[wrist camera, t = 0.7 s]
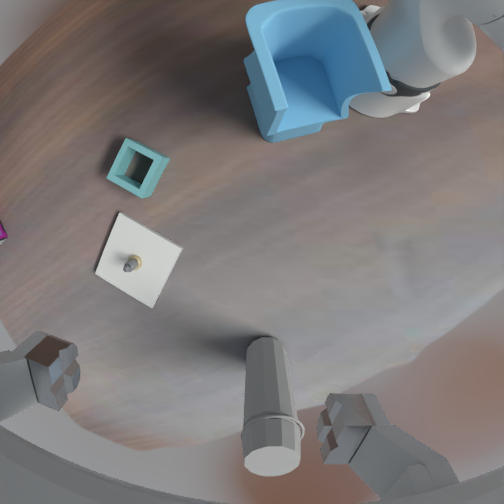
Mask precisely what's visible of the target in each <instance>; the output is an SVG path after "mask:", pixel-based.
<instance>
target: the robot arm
mask: <svg viewBox="0 0 504 504" xmlns="http://www.w3.org/2000/svg"><path fill="white" fill-rule="evenodd" d="M360 12H361V14H362V16H363V18H364V20H365V22H366V24H367V27H368V29H369V31H370V33H371V36H372V38H373V41H374V43H375V45H376V48H377V50H378V53H379V55H380V58H381V61H382V63H383V66H384V69H385V71H386V74H387V77H388V80H389V83H390V85H391V88H392V90H390V91H382V92H368V93H363V94H359V95H357V96H355V97H353V99H352V100H351V101H350V104H349V106H350V107H352V108H353V109H355V110H356V111H358V112H360V113H362V114H364V115H367V116H371V117H380V118H381V117H388V116H392V115H394V114H397V113H401V112H402V113H415V112H416V111H418V109H419V106H420V102H422V101H424V100H426V99H427V98H428V97H429V96H430V94H429V92H430V91H432V90H433V89H434V88H436V87H437V86H438V85H439V84H440V83H441V82H442V81H444V80H447V79H449V78H452V77H454V76H456V75H459V74H461V73H463V72H465V71H466V70H467V69H468V68H469V67H470V65H471V64H472V62H473V61H474V58H475V55H476V39H475V34H474V30H473V26H472V24H471V22H472V23H474V24H476V25H477V26H478V27H479V28H480V29H481V30H482V31H483V32H484V33H485V34H486V35H487V36H488V37H489V38H490V39H491V40H492V41H493V42H494V43H495V44H496V45H497V46H498V47H499V48H500V49H501V50H502V51H503V52H504V0H389V1H388V2H387V4H386V6H382V7H378V6H373V5H369V6H367V7H366V8H365V9H364V10H361V11H360ZM77 356H78V351H77V346H76V345H75V344H73V343H71V342H68V341H65V340H63V339H60V338H57V337H55V336H52V335H49V334H47V333H44V332H42V331H36V332H35V333H34V334H32V335H31V336H30V337H29V338H28V339H26V340H25V341H24V342H23V343H22V344H20V345H19V346H18V347H17V348H16V349H15V350H13V351H12V352H11V351H9V350H8V351H3V352H0V421H2V420H5V419H7V418H9V417H11V416H14V415H16V414H18V413H20V412H22V411H24V410H27V409H29V408H31V407H33V406H35V405H37V404H38V403H40V404H42V405H45V406H47V407H49V408H52V409H54V410H57V411H59V410H60V409H61V408H62V407H63V405H64V404H65V403H66V401H67V400H68V398H67V394H68V393H71V392H73V391H74V390H75V389H76V387H77V386H78V383H79V380H80V366H79V365H78V363H77V362H76V360H75V359H76V357H77ZM325 404H326V407H327V408H326V409H325V410H324V411H322V412H321V413H320V416H319V418H318V422H317V437H318V439H319V440H320V441H321V442H322V443H323V444H322V446H321V448H320V451H321V455H322V459H323V463H324V464H349V466H350V467H351V468H352V470H354V472H355V473H356V474H357V475H358V476H359V477H360V478H361V479H362V480H363V481H364V482H365V483H366V484H367V485H368V486H369V487H370V488H371V489H372V490H373V491H374V492H375V493H376V494H377V495H378V496H379V497H380V498H381V500H380V501H376V502H370V503H361V504H504V466H502V467H500V468H497V469H495V470H493V471H490V472H487V473H485V474H482V475H480V476H477V477H474V478H471V479H468V480H465V481H462V482H459V480H458V479H457V476H456V475H455V473H454V471H453V469H452V467H451V466H450V464H449V462H448V460H447V459H446V458H445V457H444V456H442V455H441V454H439V453H437V452H435V451H434V450H432V449H431V448H429V447H428V446H426V445H425V444H423V443H421V442H420V441H418V440H417V439H415V438H414V437H412V436H411V435H409V434H407V433H406V432H404V431H403V430H401V429H400V428H398V427H397V426H395V425H390V423H389V421H388V419H387V417H386V415H385V413H384V411H383V409H382V407H381V405H380V403H379V401H378V399H377V397H376V395H374V394H339V393H330V394H329V395H328V397H327V399H326V401H325ZM0 504H228V503H220V502H213V501H205V500H200V499H194V498H189V497H184V496H178V495H174V494H169V493H165V492H161V491H157V490H153V489H149V488H145V487H142V486H138V485H134V484H131V483H128V482H124V481H121V480H118V479H115V478H112V477H109V476H106V475H104V474H101V473H98V472H95V471H93V470H90V469H87V468H85V467H82V466H80V465H77V464H75V463H73V462H70V461H68V460H66V459H63V458H61V457H59V456H57V455H55V454H53V453H50V452H48V451H46V450H44V449H42V448H40V447H38V446H36V445H34V444H32V443H31V442H28V441H27V440H25V439H23V438H21V437H19V436H18V435H16V434H14V433H13V432H11V431H9V430H7V429H6V428H4V427H3V426H1V425H0Z"/></svg>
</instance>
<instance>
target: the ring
mask: <svg viewBox="0 0 504 504" xmlns="http://www.w3.org/2000/svg"><path fill="white" fill-rule="evenodd" d="M136 151H138V152H140V153H142V154H143V155H145V156H147V157H149V158H151V159H153V160H154V161H153V163H152V165H151V167H150V169H149V171H148V173H147V175H146V177H145V179H144V181H143V183H142V184H140V183H138V182H136V181H135V180H133V179H131V178H129V177H127V176H126V175H125V173H126V171H127V169H128V167H129V164H130V162H131V160H132V158H133V156H134V154H135V152H136ZM169 160H170V158H169V157H167V156H165V155H163V154H161V153H159V152H157V151H155V150H153V149H152V148H150V147H148V146H146V145H144V144H142V143H140V142H138V141H136V140H133V139H129V138H126V139H125V141H124V143H123V145H122V147H121V149H120V151H119V153H118V155H117V157H116V159H115V161H114V163H113V165H112V167H111V169H110V172H109V174H108V176H107V179H109V180H110V181H112V182H114V183H116V184H117V185H119V186H121V187H123V188H124V189H126V190H128V191H130V192H131V193H133V194H135V195H137V196H138V197H140V198H146V197H151V195H152V193H153V191H154V189H155V187H156V185H157V183H158V181H159V179H160V177H161V175H162V173H163V171H164V169H165V167H166V165H167V163H168V162H169Z"/></svg>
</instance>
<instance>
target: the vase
mask: <svg viewBox="0 0 504 504" xmlns="http://www.w3.org/2000/svg"><path fill="white" fill-rule="evenodd" d="M245 22H246V26H247V29H248V32H249V35H250V38H251V41H252V44H253V47H254V51H253V52H252V53H251V54H250V55H249V56H247V57H246V58H244V65H245V68H246V71H247V74H248V77H249V80H250V85H249V86H247V87H246V88H247V91H248V94H249V97H250V100H251V104H252V107H253V110H254V113H255V117H256V120H257V123H258V127H259V130H260V133H261V135H262V137H263V138H264V139H265V140H266V141H268V142H271V143H273V142H279V141H283V140H287V139H291V138H295V137H299V136H303V135H308V134H312V133H316V132H319V131H320V129H321V127H322V125H323V123H325V122H330V121H335V120H340V119H345V118H347V117H349V112H348V109H349V104H350V101H351V100H352V99H353V97H355V96H357V95H359V94H363V93H368V92H382V91H390V90H392V88H391V85H390V83H389V80H388V77H387V74H386V71H385V69H384V66H383V63H382V61H381V58H380V55H379V53H378V50H377V48H376V45H375V43H374V41H373V38H372V36H371V33H370V31H369V29H368V27H367V24H366V22H365V20H364V18H363V16H362V14H361V12H360V10H359V8H358V7H357V5H356V4H355V3H354V2H353V1H352V0H276V1H271V2H266V3H262V4H258V5H255V6H253V7H252V8H250V10H249V11H248V12H247V14H246V17H245Z"/></svg>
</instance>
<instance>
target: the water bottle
mask: <svg viewBox="0 0 504 504" xmlns="http://www.w3.org/2000/svg"><path fill="white" fill-rule="evenodd" d="M298 425H300V426H301V428H302V433H301V436H300V428H299V426H298ZM303 436H304V426H303V425H302V424H301V422H300V421H298V417H297V411H296V405H295V399H294V393H293V387H292V381H291V375H290V369H289V363H288V357H287V351H286V349H285V347H284V345H283V343H282V342H280V341H279V340H277V339H275V338H273V337H262V338H259V339H257V340H255V341H253V342H252V343H251V344H250V346H249V347H248V348H247V358H246V380H245V403H244V427H243V431H242V433H241V439H242V445H243V456H244V466H245V467H246V468H247V469H248V470H249V471H250V472H252V473H255V474H258V475H261V476H279V475H282V474H285V473H289V472H291V471H292V470H293V469H295V468H296V467H297V466H298V465H299V462H300V458H301V450H300V440H301V439H302V437H303Z"/></svg>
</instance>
